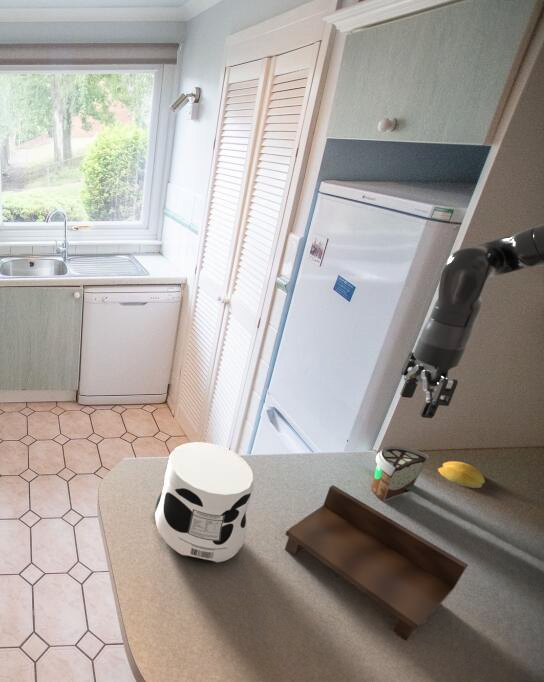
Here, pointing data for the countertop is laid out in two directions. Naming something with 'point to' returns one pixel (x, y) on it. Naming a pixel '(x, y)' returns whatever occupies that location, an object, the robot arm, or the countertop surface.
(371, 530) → the shelf
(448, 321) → the robot arm
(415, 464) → the food container
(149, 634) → the countertop surface
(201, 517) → the milk container
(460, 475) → the yellow ridged fruit
